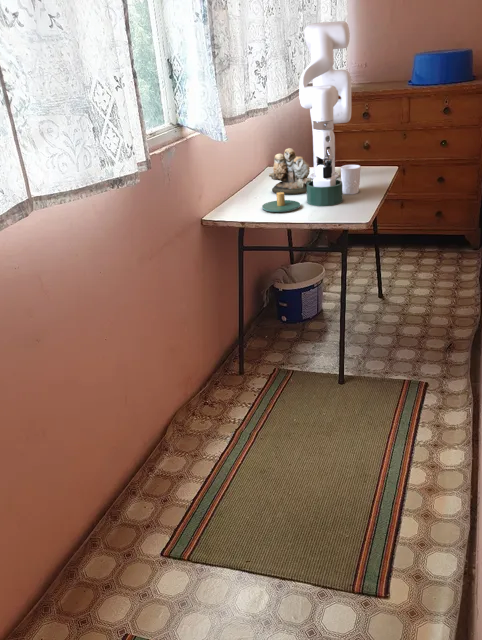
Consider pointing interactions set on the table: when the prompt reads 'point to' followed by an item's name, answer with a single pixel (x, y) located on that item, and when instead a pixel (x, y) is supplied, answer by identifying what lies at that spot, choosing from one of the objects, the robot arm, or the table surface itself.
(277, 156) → the owl figurine
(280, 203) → the lid
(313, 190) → the tin
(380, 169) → the table surface
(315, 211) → the table surface
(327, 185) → the medicine bottle
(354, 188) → the white cup
